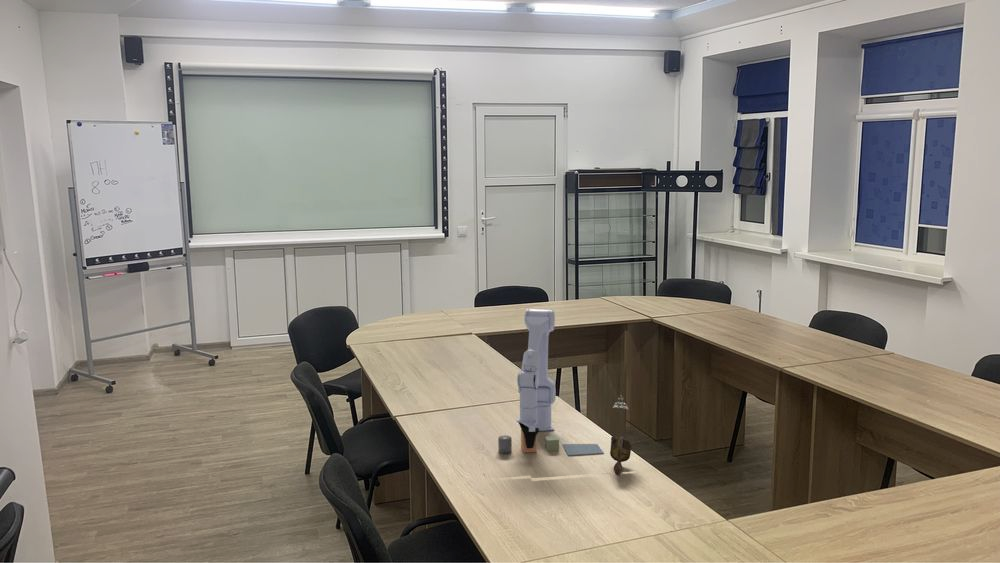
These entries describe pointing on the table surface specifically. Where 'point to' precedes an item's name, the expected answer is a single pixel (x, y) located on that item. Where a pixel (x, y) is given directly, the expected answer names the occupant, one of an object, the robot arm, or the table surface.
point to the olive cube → (552, 443)
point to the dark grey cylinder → (505, 444)
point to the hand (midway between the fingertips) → (528, 445)
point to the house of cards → (621, 404)
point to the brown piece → (620, 452)
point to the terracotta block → (523, 444)
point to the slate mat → (582, 449)
